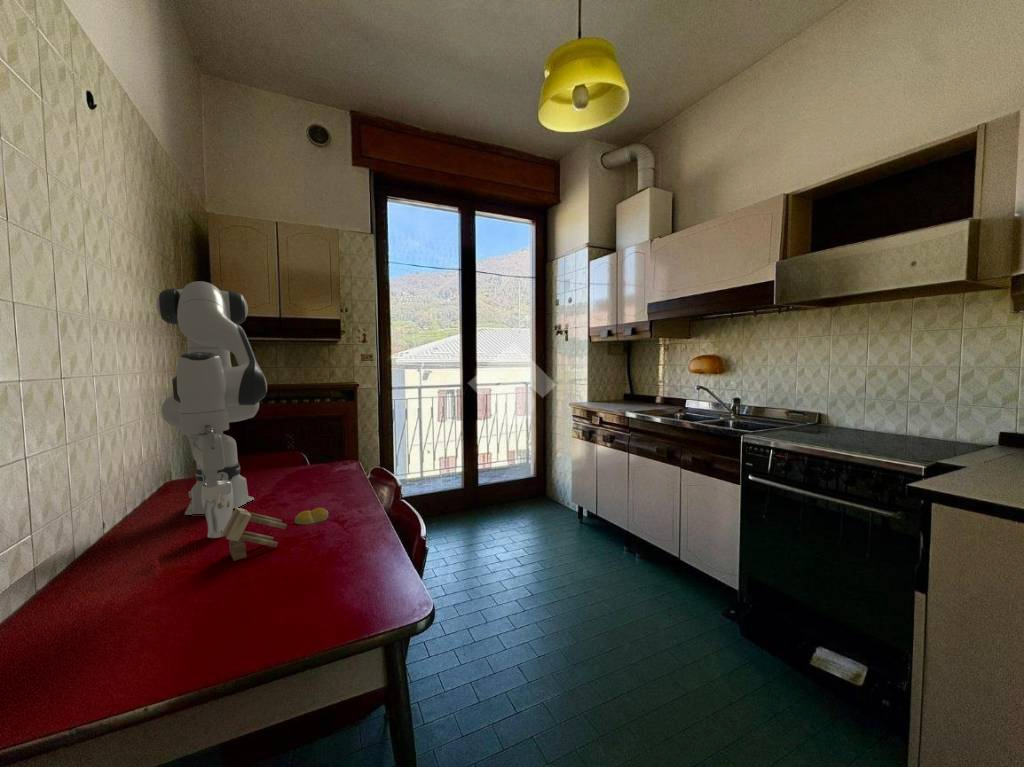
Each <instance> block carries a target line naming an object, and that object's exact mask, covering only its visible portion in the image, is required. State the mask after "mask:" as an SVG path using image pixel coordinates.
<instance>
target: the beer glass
mask: <svg viewBox="0 0 1024 767" xmlns="http://www.w3.org/2000/svg"><path fill="white" fill-rule="evenodd" d="M233 504H234V495H233V488H232V482H231V480H227V479H226V480H217V485H216V486H215V487H210V488H209V487H207V485H206V483H205V484H203V485H202V506H203V510H204V513H205V515H204V516H205V519H206V522H207V538H209V539H217V538H223V537H225V535H224V534H223V531H224V529H225V527H226V525H227V523H228V521H229V519H230V518H231V516H232V514H233V512H234V510H233Z"/></svg>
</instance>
